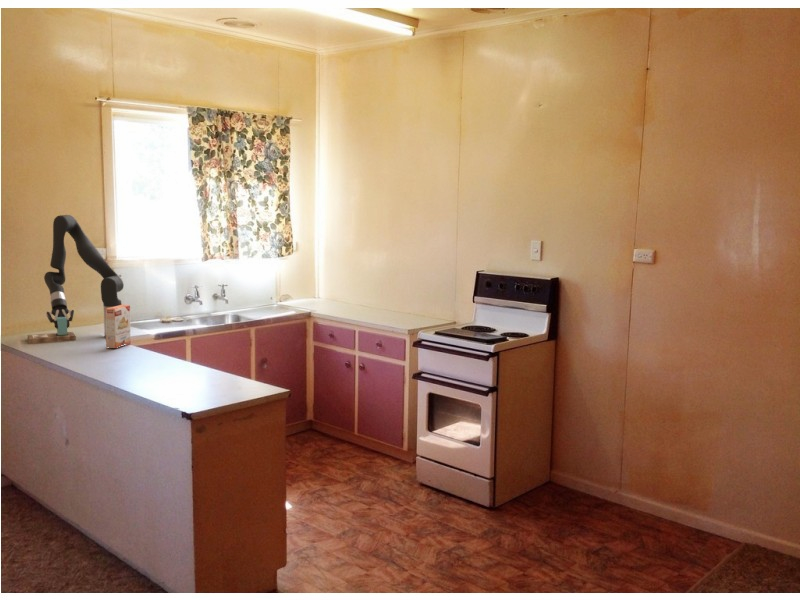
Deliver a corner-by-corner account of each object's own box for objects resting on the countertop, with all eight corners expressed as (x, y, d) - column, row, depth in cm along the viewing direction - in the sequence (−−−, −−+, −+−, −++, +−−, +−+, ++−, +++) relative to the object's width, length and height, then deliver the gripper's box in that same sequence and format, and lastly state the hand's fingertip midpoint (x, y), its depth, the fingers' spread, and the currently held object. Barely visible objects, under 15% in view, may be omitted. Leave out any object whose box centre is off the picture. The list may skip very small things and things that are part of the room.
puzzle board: (72, 337, 397) (72, 331, 396) (75, 341, 387) (75, 335, 386) (27, 340, 386) (27, 334, 385) (29, 345, 375) (29, 338, 375)
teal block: (66, 333, 391) (65, 316, 390) (67, 334, 387) (66, 317, 386) (57, 333, 389) (56, 317, 388) (58, 335, 385) (57, 318, 384)
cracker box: (116, 349, 370) (114, 309, 367) (105, 348, 371) (104, 308, 368) (131, 344, 383) (130, 305, 380) (121, 343, 384) (120, 304, 381)
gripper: (44, 298, 388) (47, 324, 380) (73, 296, 395) (77, 322, 387) (43, 307, 393) (47, 332, 385) (72, 305, 401) (76, 330, 392)
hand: (62, 327), depth 386 cm, fingers closed on teal block, 4 cm apart
